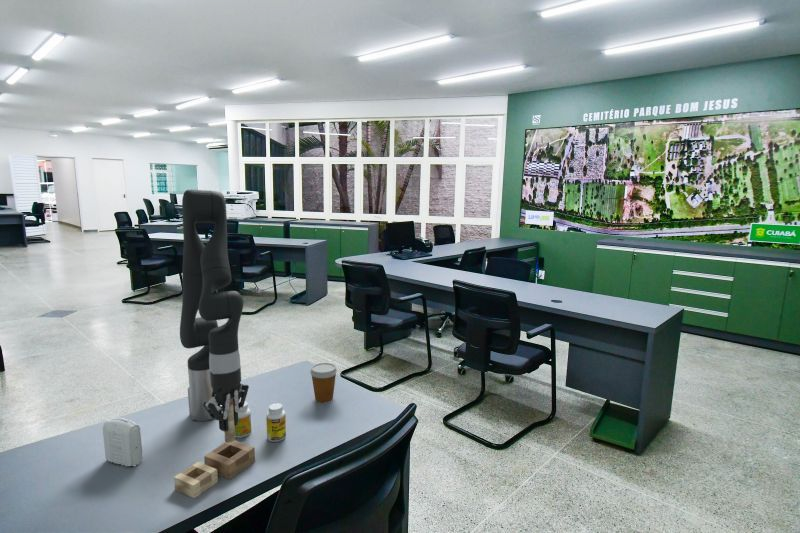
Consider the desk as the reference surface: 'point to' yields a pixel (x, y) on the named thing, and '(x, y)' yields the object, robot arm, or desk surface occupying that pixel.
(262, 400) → the desk surface
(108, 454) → the photo printer
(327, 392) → the disposable coffee cup
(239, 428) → the supplement bottle
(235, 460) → the brown wooden square frame
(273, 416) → the supplement bottle
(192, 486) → the light wood hollow block
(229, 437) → the wooden peg
